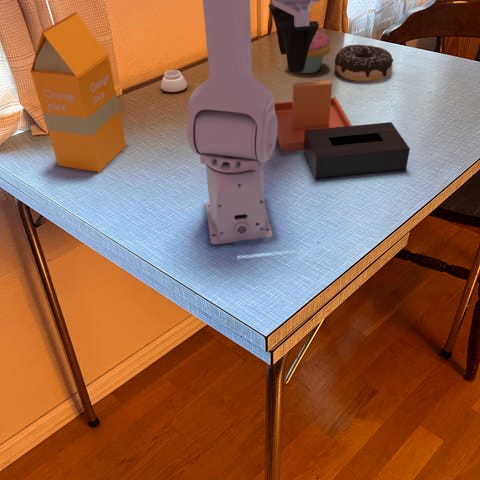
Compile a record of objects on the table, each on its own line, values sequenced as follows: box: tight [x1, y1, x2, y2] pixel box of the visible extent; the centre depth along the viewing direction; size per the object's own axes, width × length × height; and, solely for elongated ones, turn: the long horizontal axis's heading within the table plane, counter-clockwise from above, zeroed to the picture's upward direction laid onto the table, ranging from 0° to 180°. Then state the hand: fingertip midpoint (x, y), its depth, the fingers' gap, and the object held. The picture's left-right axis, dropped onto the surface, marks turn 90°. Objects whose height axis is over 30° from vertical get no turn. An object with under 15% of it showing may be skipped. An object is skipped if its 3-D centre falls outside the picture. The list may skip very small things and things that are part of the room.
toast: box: [292, 79, 333, 129], centre depth 91 cm, size 1×6×7 cm, turn 97°
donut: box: [334, 44, 394, 82], centre depth 109 cm, size 11×12×4 cm
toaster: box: [303, 121, 411, 181], centre depth 84 cm, size 9×14×4 cm, turn 97°
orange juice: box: [30, 11, 127, 173], centre depth 84 cm, size 8×9×20 cm
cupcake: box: [300, 29, 332, 74], centre depth 109 cm, size 9×8×12 cm
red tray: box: [274, 96, 353, 152], centre depth 94 cm, size 15×12×2 cm
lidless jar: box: [160, 69, 188, 93], centre depth 108 cm, size 5×3×5 cm
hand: (291, 62), depth 88 cm, fingers open, 7 cm apart
